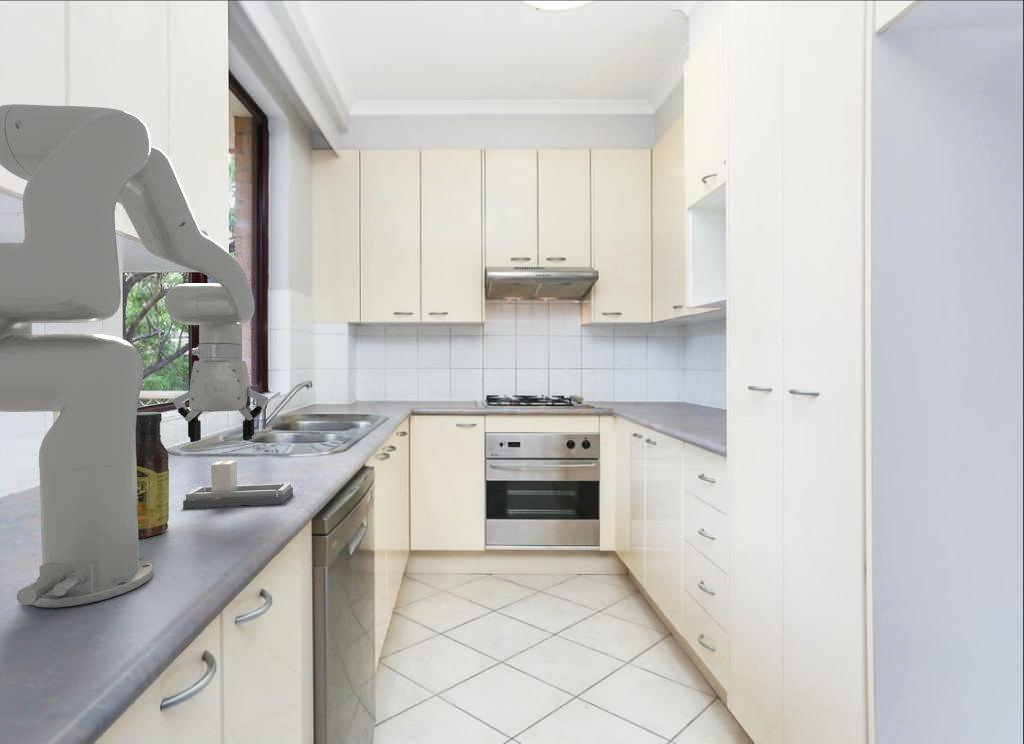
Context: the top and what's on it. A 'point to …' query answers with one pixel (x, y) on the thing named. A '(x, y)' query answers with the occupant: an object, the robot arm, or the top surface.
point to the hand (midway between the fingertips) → (221, 440)
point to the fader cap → (224, 476)
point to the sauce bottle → (151, 476)
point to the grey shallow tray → (238, 496)
